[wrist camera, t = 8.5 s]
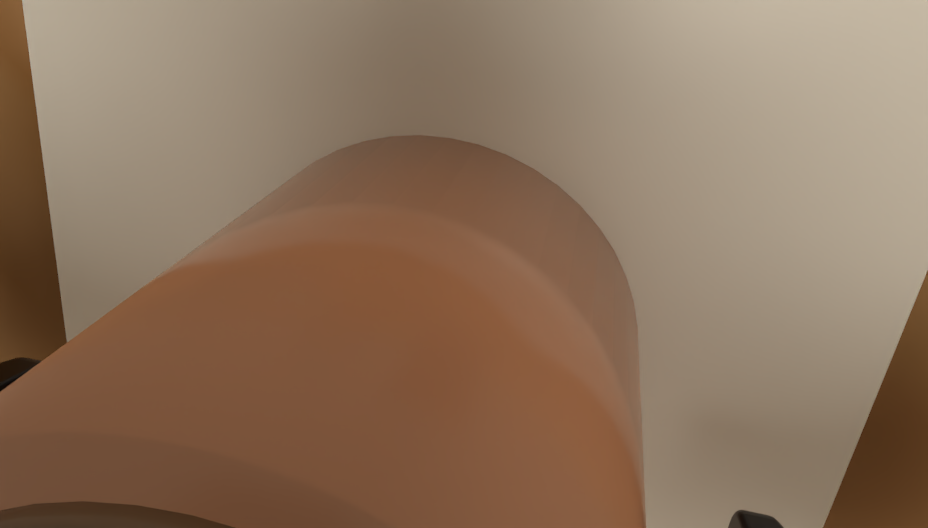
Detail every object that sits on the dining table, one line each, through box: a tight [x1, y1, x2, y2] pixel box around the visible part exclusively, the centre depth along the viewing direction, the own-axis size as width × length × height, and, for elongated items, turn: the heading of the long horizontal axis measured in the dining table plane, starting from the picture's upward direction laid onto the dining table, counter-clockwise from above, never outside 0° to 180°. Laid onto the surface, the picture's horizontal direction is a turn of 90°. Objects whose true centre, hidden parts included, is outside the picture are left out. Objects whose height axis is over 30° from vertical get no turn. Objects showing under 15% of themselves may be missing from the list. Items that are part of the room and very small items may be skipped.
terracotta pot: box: [0, 135, 646, 528], centre depth 9 cm, size 6×6×7 cm
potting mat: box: [22, 0, 928, 528], centre depth 12 cm, size 13×13×1 cm
